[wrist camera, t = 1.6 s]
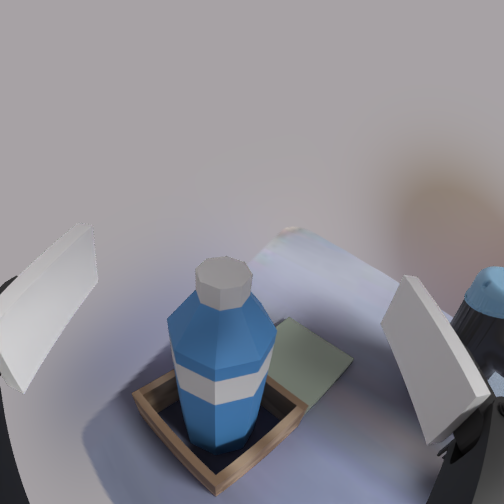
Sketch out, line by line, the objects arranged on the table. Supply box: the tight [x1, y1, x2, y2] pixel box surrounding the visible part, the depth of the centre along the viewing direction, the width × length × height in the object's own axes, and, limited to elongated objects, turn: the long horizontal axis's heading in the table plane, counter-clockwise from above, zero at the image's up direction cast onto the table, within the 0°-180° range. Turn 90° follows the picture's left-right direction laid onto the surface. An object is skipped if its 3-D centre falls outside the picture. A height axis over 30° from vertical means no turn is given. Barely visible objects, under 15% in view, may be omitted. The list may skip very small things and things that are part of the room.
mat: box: [267, 317, 354, 416], centre depth 45 cm, size 14×14×1 cm
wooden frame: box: [132, 369, 309, 496], centre depth 33 cm, size 15×15×6 cm
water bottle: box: [167, 256, 277, 455], centre depth 28 cm, size 9×9×25 cm
